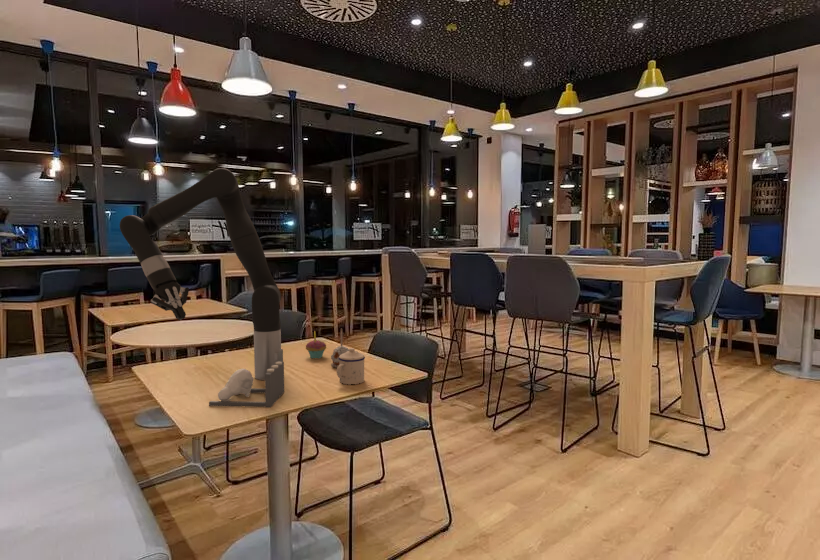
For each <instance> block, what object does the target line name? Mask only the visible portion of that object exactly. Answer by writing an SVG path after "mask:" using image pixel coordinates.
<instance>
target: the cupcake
mask: <svg viewBox="0 0 820 560" xmlns="http://www.w3.org/2000/svg"><path fill="white" fill-rule="evenodd" d="M313 331H314V332H313V339H314V340H311V341H309V342H307V344H306V345H305V350H306V351H307V352H308V354H309V356H310V358H311V359H313V358H318V359H322V358H321V357H323V356H324V352H325V350H326V349H327V344H326V342H323V341H322V340H317V337H316V336H317V335H316V330H313Z"/></svg>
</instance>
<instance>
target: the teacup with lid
mask: <svg viewBox="0 0 820 560" xmlns="http://www.w3.org/2000/svg"><path fill="white" fill-rule="evenodd" d="M348 349H349V351H347V352H346V353H344V354H341V355H340V356H339V366H338V367H336V376H337V377H338V379H339V382H340V383H341V384H342V383H343V385H347V384H348V386H352V385H351V384H355V385H360V384H362V383H364V381H365V358H366V355H365V354H364V353H361V352H358V351H357V350H356V348H354V347H350V348H348ZM359 383H360V384H359Z"/></svg>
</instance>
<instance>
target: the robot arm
mask: <svg viewBox="0 0 820 560" xmlns="http://www.w3.org/2000/svg"><path fill="white" fill-rule="evenodd" d="M213 198H216V199H217V201H218V203H219V205H220V207H221V209H222V211H223V215H224V219H225V224H226V228H227V235H228V236H229V240H230V243H231V245H232V247H233V251H234V253H235V255H236V257H237V259H238V260H239V262H240V264H241V265H242V266H243V268H244V269H245V271H246V272H247V274H248V276H249V279H250V281H251V285H252V289H253V293H252V294H251V295H252V296H251V317H252V319H251V321H252V325H253V353H254V354H253V355H254V356H253V357H254V358H253V360H254V361H253V363H254V364H253V365H254V378H255V379H256V380H259V381H265V374H266V373H267V369H272V368H271V366H272V365H275V362H284V349H283V348H282V336H281V335H282V333H281V331H282V328H281V326H282V325H281V324H282V323H281V318H280V303H281V301H282V294H281V290H280V289H279V286H278V285H277V283H276V282H275V279H274V277H273V275H272V273H271V270H270V268H269V266H268V262H267V258H266V255H265V251H264V249H263V246H262V243H261V240H260V237H259V235H258V232H257V230H256V228H255V225H254V223H253V221H252V219H251V217H250V215H249V213H248V211H247V209H246V207H245V204H244V201H243V198H242V195H241V191H240V186H239V182H238V179H237V177H236V176H235V174H234V173H233V172H232V171H231V170H229V169H227V168H224V167H223V168H222V167H221V168H220V167H219V168H215V169H214V170H212V171H211V172H210V173H208V174H207V175H206V176H204V177H203V178H201V179H200V180H199V181H197V182H196V183H194V184H193V185H191V186H189V187H187V188H186V189H184V190H182V191H180V192H178V193H176V194H174V195H172V196H170V197H168V198H166V199H164V200H163V201H160V202H159V203H157V204H155V205H153V206H150V208H149V209H148V212H147V213H146V214H144V215H143V216H142V217H139V216H137V215H133V214H129V215H125V216H123V217H122V218H121V219H120V222H119V230H120V232H121V235H122V237H123V238H124V239H125V241H126V242H127V244H129V246H130V247H131V249H132V250H133V252H134V254H135V255H136V258H137V259H138V261H139V263H140V265H141V269H142V271H143V273H144V276H145V277H146V280H147V281H148V283H149V285H150V286H151V287H150V288H152V290H153V297H152V298H151V299H150V303H151V304H152V305H154V306H156V307H158V308H159V309H162V310H164V311H166V312H167V311H172V313H173V315H174V318H175V319H177V320H178V321H181V320H184V319H186V315H187V313H186V311H185V309H184V307H183V306H184V305H185V304H187V300H188V296H189V292H190V288H189V287H182V286H181V284H179V283H178V281H177V279H176V277H175V275H174V272H173V271H172V269H171V266H170V264H169V263H168V261H167V260H166V258H165V257H164V256H163V253H162V251H161V250H160V248H159V246H158V244H157V243H156V242H155V241H154V240H153V239H152V237H151V236H153V235H154V234H155V233H157V232H158V231H159V230H161V228H163V227H164V226H166V225H168V224H170V223H173V222H174V221H176V220H178V219H180V218H181V217H184V215H186V214H187V213H189V212H190V211H192V210H193V209H194V208H197V206H199V205H201V204H203V203H205V202H207V201H208V200H211V199H213ZM180 294H181V295H180Z"/></svg>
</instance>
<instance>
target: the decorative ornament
mask: <svg viewBox="0 0 820 560" xmlns="http://www.w3.org/2000/svg"><path fill="white" fill-rule="evenodd" d="M349 349H350V348H348V347H346V346H344V345H343V328H340V346H337V347H335V348H334V349H333V351H332V354H331V355H330V359H331V362H332V363H330V366H331V367H333V368H337V367H338V366H339V356H340V355H341V354H344V353H346V352H347V351H349Z"/></svg>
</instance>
